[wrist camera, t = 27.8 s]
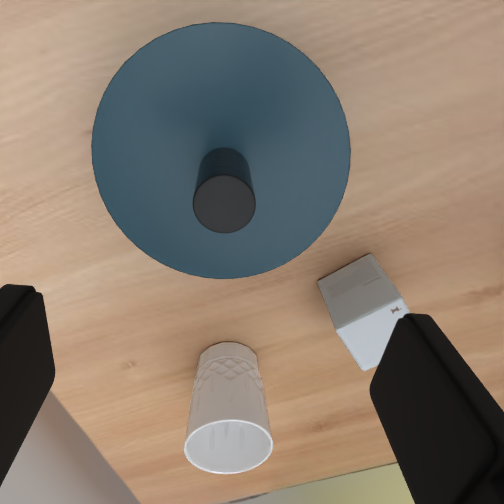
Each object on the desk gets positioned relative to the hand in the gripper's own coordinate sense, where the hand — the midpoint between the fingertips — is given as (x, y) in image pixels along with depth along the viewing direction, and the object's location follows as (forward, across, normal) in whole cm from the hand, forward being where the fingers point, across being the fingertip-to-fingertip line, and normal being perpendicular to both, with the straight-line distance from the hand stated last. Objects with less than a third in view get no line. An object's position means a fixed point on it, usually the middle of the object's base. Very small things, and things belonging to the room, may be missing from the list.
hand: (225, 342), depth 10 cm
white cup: (+22, -3, +24) cm, 33 cm away
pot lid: (+16, 0, 0) cm, 16 cm away
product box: (+22, -14, +12) cm, 29 cm away
